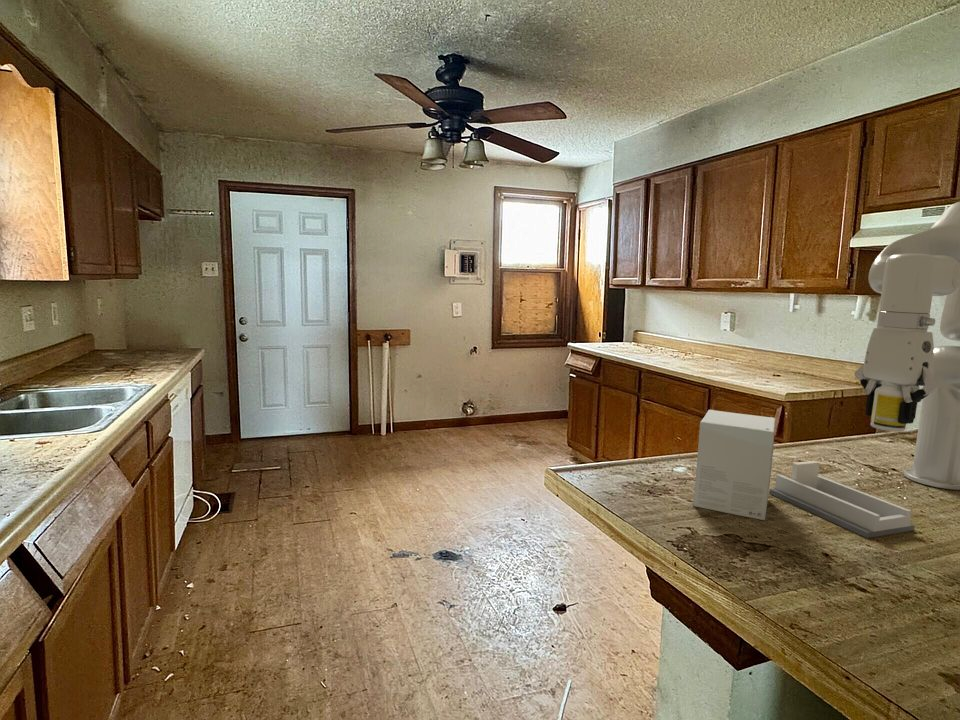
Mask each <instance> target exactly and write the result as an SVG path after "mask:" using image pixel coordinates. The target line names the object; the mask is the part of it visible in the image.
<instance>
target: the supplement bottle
mask: <svg viewBox="0 0 960 720" xmlns="http://www.w3.org/2000/svg"><path fill="white" fill-rule="evenodd" d="M881 383H882V386H881V387H878V388H876V390H875V395H874V402H873V409H872V415H871V416H870V426H871V427H872V428H874V429H878V430H882V431H886V432H887V431H888V432H889V431H890V432H904V431H905V429H906V426H907V424H901V423H899V422H898V416H899V409H900V403H901V402H904V396H903V391H902V385H896V384H893V383H890V382H886V381H882V382H881Z"/></svg>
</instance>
